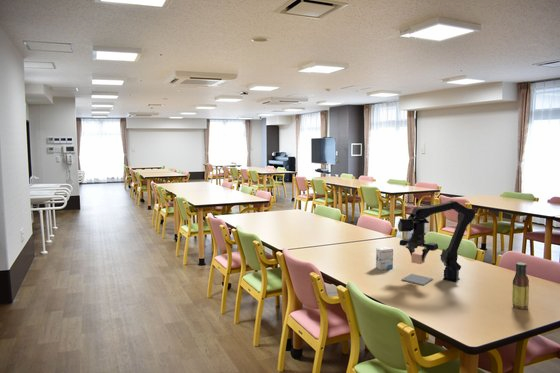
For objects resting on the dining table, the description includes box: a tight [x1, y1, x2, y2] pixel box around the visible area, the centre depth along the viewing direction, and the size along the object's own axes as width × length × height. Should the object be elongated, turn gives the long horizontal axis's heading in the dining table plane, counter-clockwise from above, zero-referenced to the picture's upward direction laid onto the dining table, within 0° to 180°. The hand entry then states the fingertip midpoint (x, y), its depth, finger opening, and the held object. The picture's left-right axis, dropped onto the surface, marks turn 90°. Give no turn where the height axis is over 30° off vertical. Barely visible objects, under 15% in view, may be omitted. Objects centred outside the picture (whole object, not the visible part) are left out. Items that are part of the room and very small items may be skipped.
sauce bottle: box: [511, 261, 530, 310], centre depth 179 cm, size 7×6×20 cm
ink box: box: [375, 246, 394, 271], centre depth 237 cm, size 9×5×12 cm, turn 105°
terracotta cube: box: [410, 251, 426, 265], centre depth 216 cm, size 5×5×5 cm
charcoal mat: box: [401, 273, 434, 286], centre depth 217 cm, size 12×12×1 cm
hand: (418, 260), depth 216 cm, fingers closed on terracotta cube, 5 cm apart
